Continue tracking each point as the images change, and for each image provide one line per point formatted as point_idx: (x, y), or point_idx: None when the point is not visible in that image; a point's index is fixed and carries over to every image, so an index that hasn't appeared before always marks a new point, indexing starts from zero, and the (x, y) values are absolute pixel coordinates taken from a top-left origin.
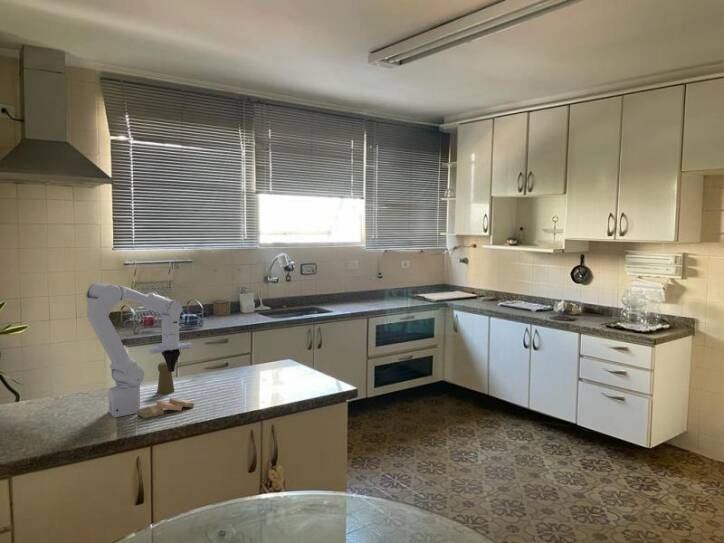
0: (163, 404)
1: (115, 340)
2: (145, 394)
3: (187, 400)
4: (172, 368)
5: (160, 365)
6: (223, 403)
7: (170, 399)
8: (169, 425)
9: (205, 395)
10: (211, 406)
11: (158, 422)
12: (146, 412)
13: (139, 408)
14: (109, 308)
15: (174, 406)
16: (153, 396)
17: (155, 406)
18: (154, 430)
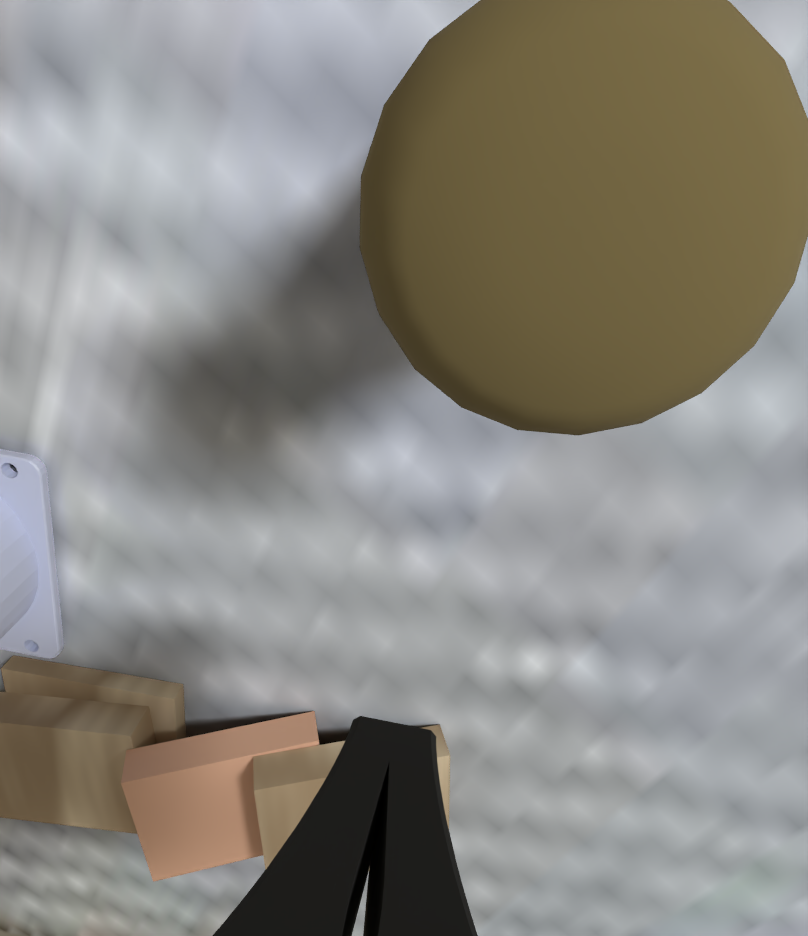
0: (146, 854)
1: None
2: (253, 84)
3: (449, 767)
4: (368, 880)
5: (381, 289)
6: (683, 903)
7: (255, 794)
8: (144, 930)
9: (757, 661)
10: (563, 887)
11: (100, 860)
12: (13, 815)
13: (15, 622)
14: None
15: (251, 849)
16: (304, 265)
17: (114, 760)
18: (44, 926)
